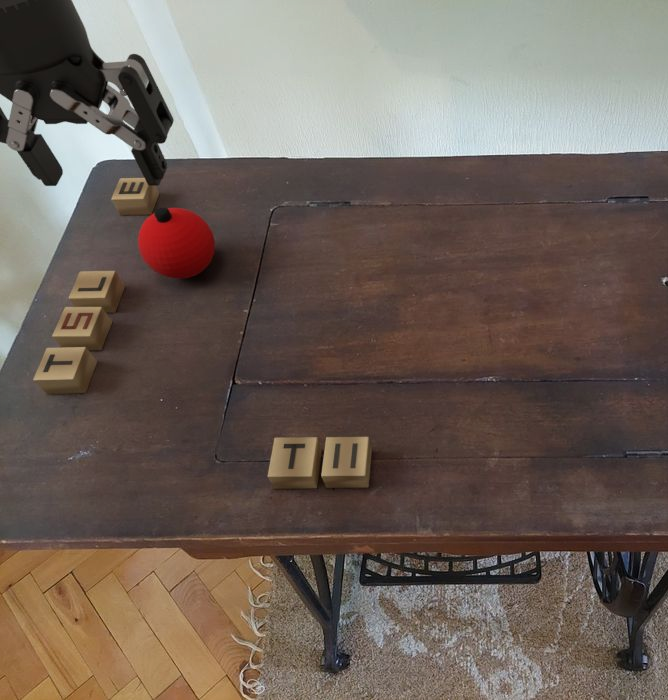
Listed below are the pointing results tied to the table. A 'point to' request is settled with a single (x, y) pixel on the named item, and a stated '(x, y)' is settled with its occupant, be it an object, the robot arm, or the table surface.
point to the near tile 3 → (346, 462)
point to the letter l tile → (97, 290)
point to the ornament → (176, 243)
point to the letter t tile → (65, 370)
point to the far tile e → (134, 197)
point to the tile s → (83, 328)
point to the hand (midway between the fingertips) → (106, 179)
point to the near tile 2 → (295, 463)
